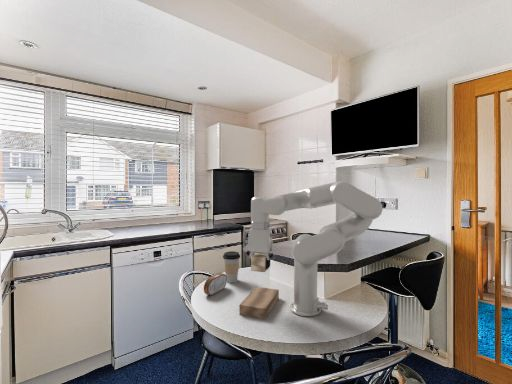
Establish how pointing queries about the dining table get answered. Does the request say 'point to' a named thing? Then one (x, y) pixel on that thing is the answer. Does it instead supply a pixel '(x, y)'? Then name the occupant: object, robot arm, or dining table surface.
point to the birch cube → (258, 262)
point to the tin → (215, 284)
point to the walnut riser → (259, 302)
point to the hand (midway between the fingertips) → (260, 267)
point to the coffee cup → (231, 265)
